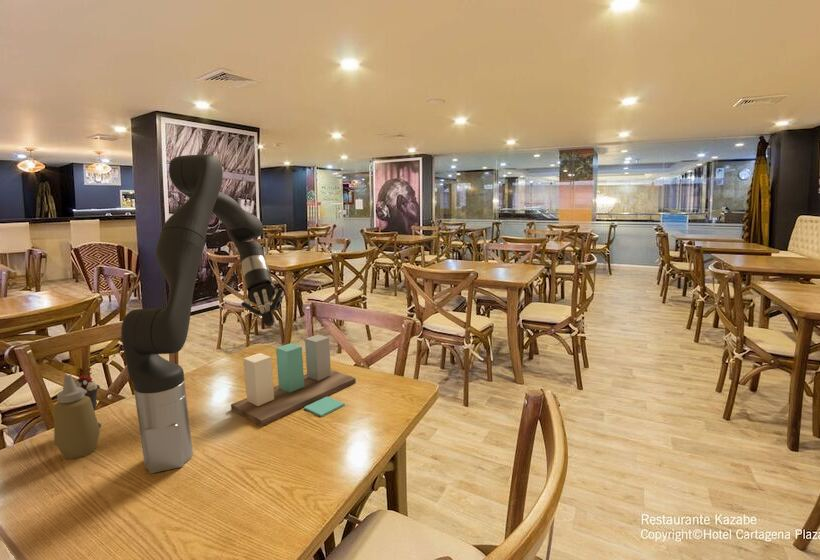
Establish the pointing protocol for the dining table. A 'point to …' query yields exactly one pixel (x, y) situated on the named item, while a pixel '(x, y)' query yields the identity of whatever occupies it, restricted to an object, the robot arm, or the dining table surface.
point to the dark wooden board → (292, 398)
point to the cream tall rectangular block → (258, 379)
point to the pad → (324, 406)
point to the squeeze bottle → (74, 421)
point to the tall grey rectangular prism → (317, 357)
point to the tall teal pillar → (290, 367)
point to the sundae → (88, 388)
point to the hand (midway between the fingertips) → (270, 325)
